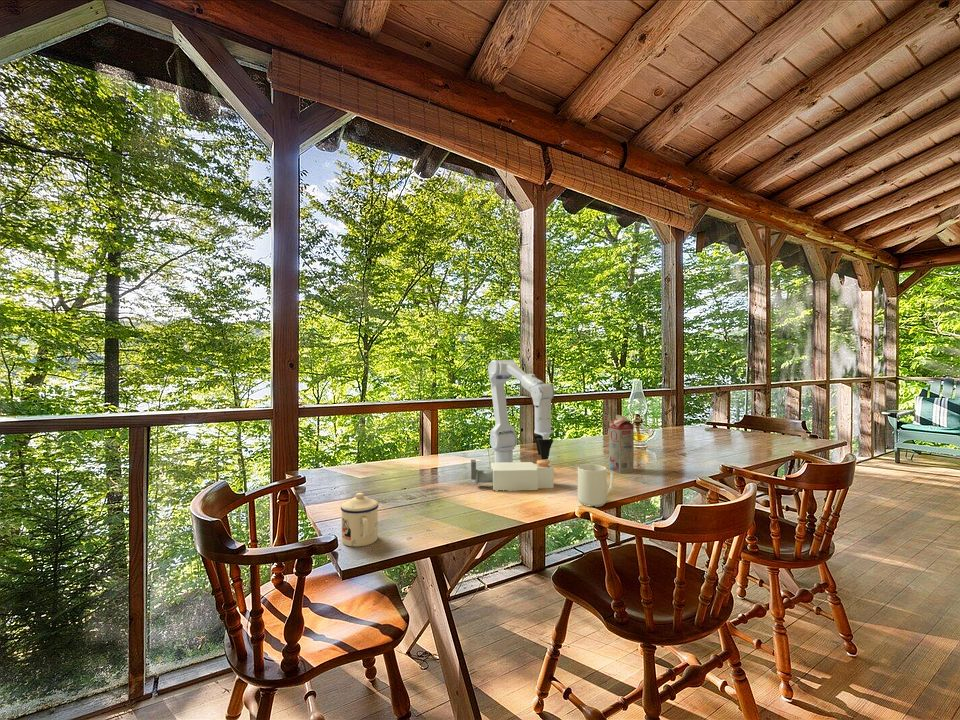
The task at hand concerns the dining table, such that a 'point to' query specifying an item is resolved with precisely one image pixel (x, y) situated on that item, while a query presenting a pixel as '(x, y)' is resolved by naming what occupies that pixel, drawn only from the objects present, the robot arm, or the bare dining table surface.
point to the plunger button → (543, 463)
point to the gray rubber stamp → (480, 474)
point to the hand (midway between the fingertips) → (543, 456)
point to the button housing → (521, 476)
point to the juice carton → (621, 445)
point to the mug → (593, 484)
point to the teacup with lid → (359, 521)
